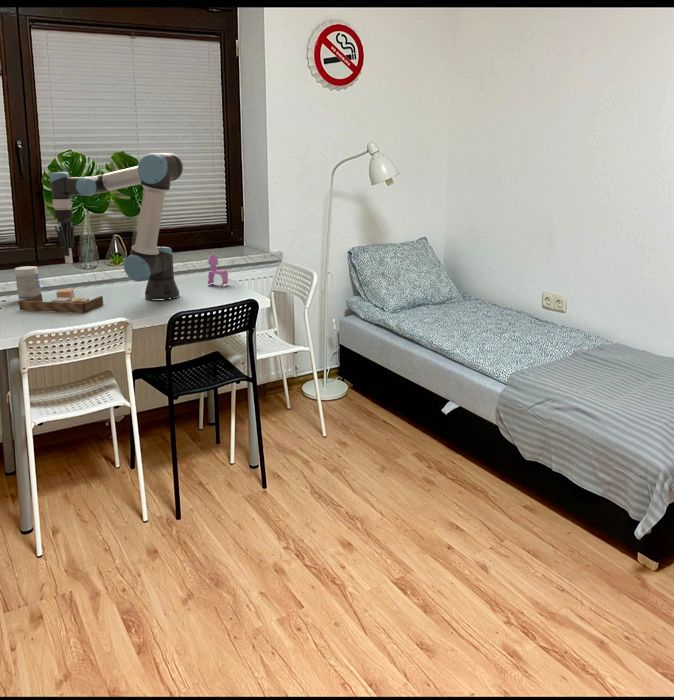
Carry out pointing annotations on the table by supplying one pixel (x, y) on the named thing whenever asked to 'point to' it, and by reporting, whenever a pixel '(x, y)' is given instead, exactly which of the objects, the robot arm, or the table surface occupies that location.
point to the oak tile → (79, 300)
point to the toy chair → (213, 263)
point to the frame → (59, 305)
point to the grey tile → (62, 300)
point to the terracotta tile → (65, 293)
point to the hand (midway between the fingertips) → (69, 262)
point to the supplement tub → (27, 282)
